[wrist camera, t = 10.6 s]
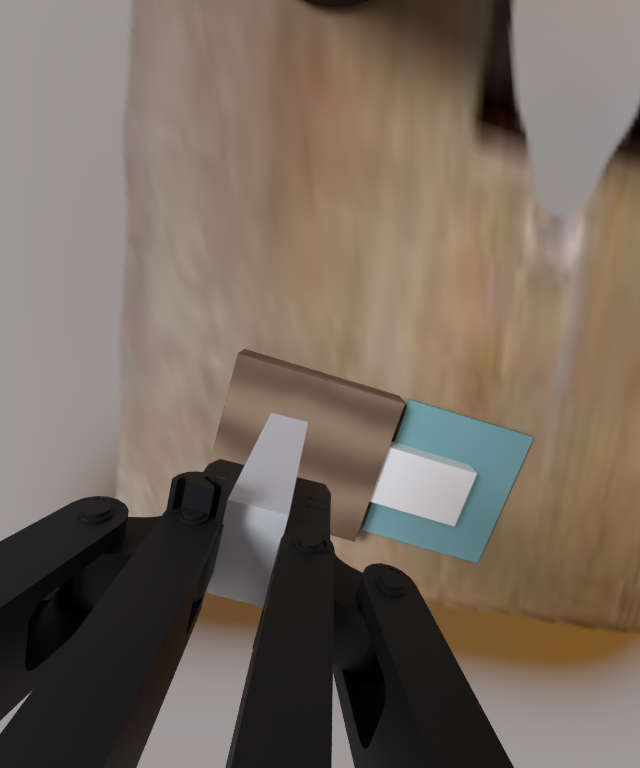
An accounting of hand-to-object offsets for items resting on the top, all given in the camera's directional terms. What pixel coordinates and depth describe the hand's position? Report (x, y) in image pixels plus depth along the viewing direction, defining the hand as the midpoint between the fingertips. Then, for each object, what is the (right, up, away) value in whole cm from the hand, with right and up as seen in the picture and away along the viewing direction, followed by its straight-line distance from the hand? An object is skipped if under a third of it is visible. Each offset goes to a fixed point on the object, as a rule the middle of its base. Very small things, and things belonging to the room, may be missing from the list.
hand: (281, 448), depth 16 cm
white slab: (+12, -7, +26) cm, 29 cm away
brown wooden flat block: (0, -3, +26) cm, 26 cm away
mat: (+14, -8, +26) cm, 31 cm away
